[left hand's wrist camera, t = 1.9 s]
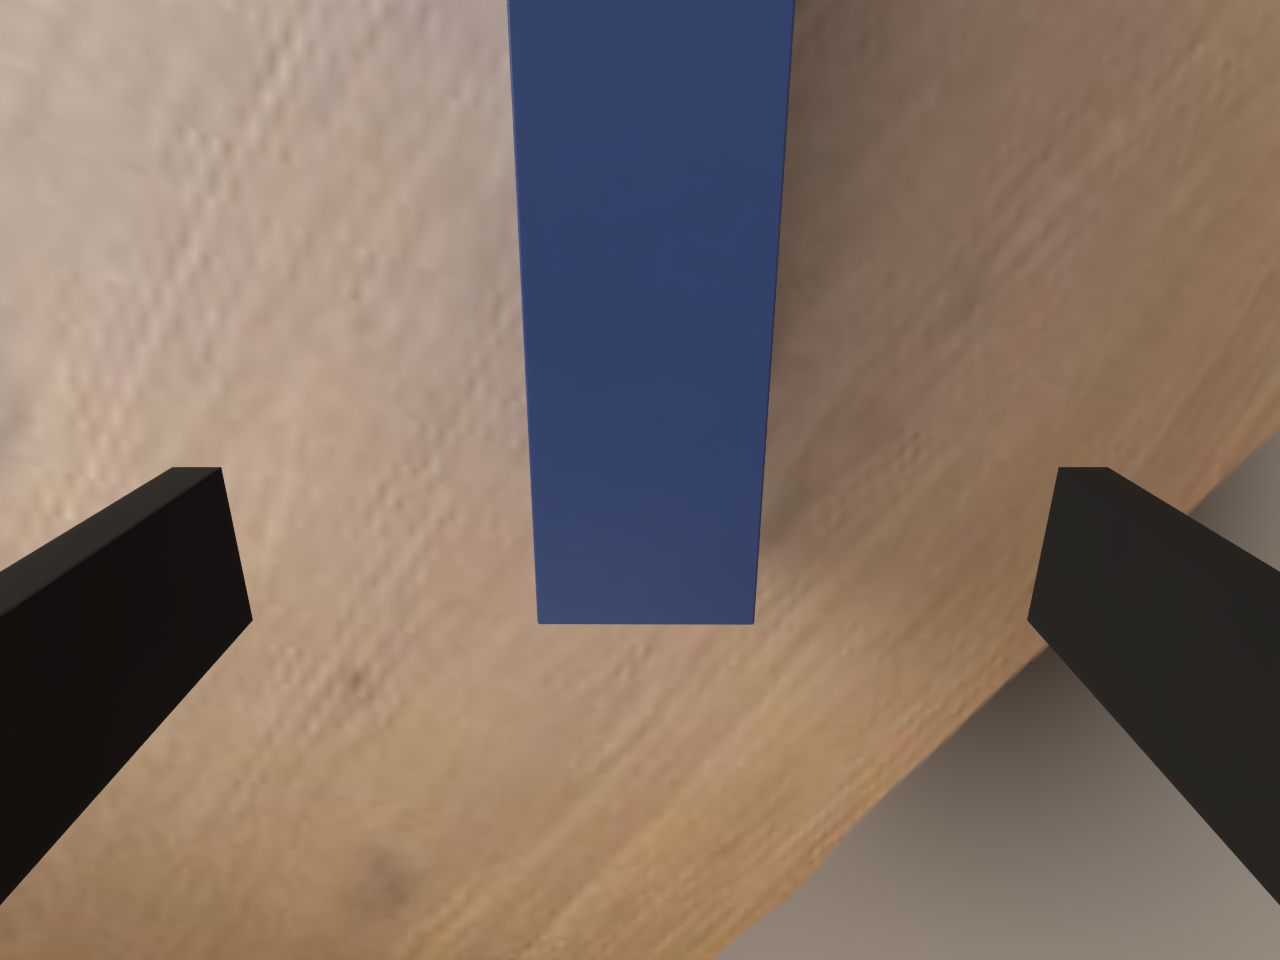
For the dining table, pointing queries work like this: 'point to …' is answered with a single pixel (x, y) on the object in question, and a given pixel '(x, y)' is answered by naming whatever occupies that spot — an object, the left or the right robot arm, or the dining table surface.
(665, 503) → the bar
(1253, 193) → the dining table surface
